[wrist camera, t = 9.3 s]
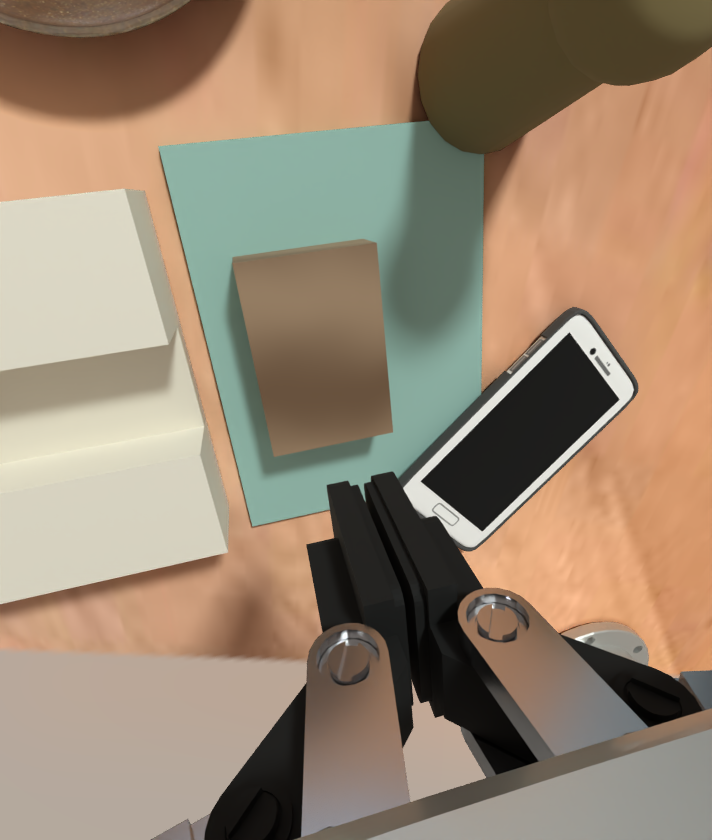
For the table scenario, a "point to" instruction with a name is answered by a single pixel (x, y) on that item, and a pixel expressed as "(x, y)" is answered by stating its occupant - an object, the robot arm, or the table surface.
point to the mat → (399, 278)
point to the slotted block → (96, 401)
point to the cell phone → (521, 430)
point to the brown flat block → (317, 343)
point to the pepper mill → (545, 59)
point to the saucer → (85, 15)
